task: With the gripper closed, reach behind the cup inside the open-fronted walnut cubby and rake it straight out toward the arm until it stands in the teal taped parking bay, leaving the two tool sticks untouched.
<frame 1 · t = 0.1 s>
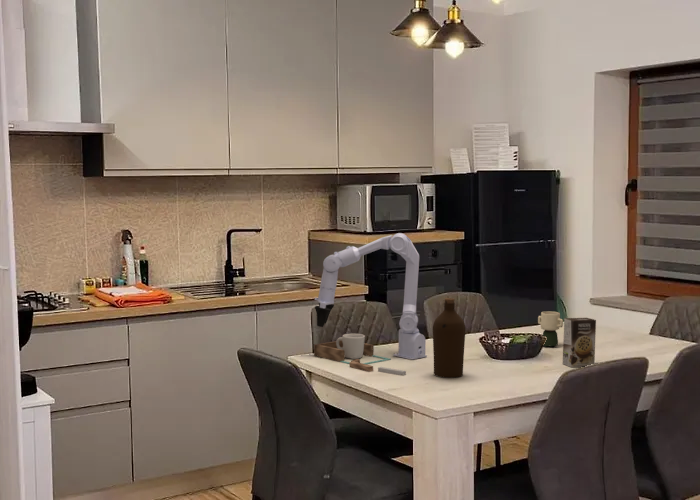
hand: (321, 324, 323), 11 cm above the table, tool pointing down, fingers open, 7 cm apart
cubby: (345, 356, 319), on the table
cookie box: (578, 365, 307), on the table
olive oil: (448, 375, 291), on the table
cup: (349, 357, 318), on the table
straight stick: (391, 374, 293), on the table
bay: (364, 360, 312), on the table
crook stick: (361, 368, 299), on the table, tilted 8°
beige and green trophy: (549, 347, 340), on the table
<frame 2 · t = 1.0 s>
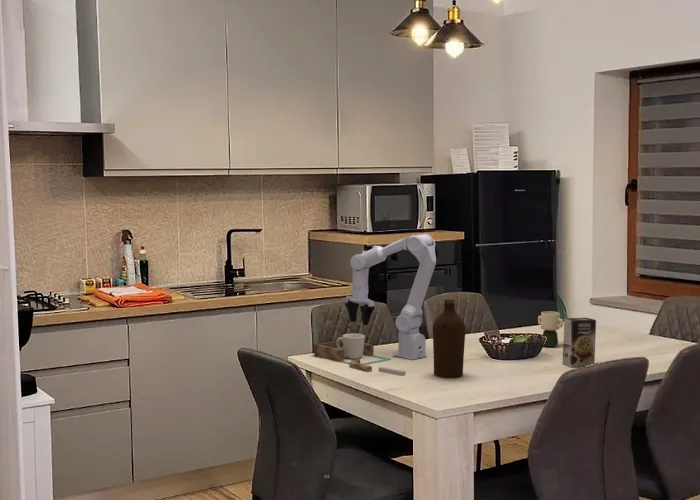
hand: (359, 323, 329), 10 cm above the table, tool pointing down, fingers open, 7 cm apart
crook stick: (360, 368, 298), on the table, tilted 8°, touching bay
everything else where it was.
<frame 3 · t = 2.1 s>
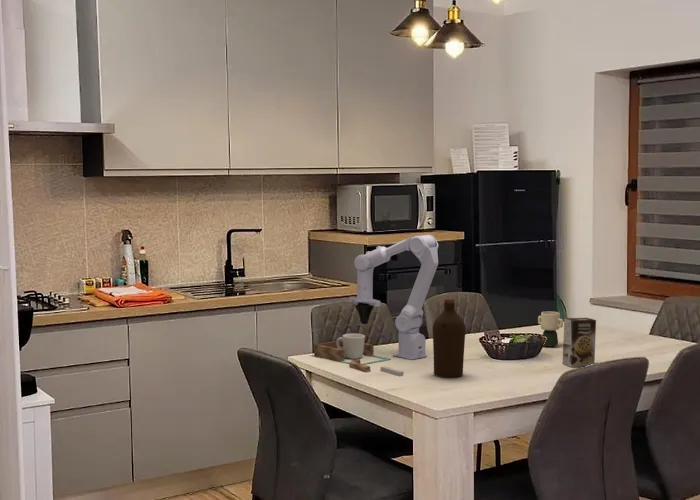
hand: (364, 323, 329), 10 cm above the table, tool pointing down, fingers closed
crook stick: (359, 369, 298), on the table, tilted 9°
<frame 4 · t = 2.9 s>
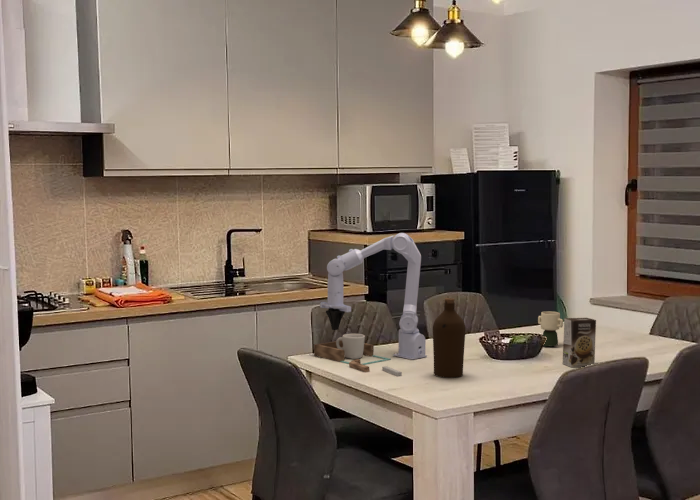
hand: (335, 329, 322), 9 cm above the table, tool pointing down, fingers closed
crook stick: (359, 369, 298), on the table, tilted 8°, touching bay
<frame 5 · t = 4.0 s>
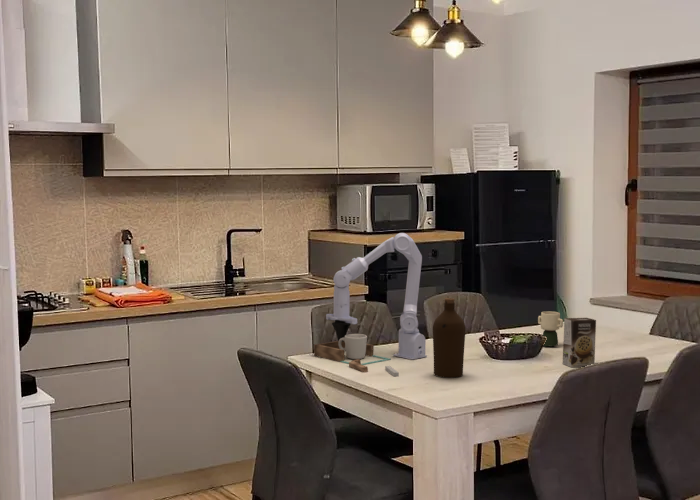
hand: (341, 341, 320), 5 cm above the table, tool pointing down, fingers closed
cup: (352, 358, 317), on the table, touching gripper
crook stick: (358, 369, 298), on the table, tilted 9°
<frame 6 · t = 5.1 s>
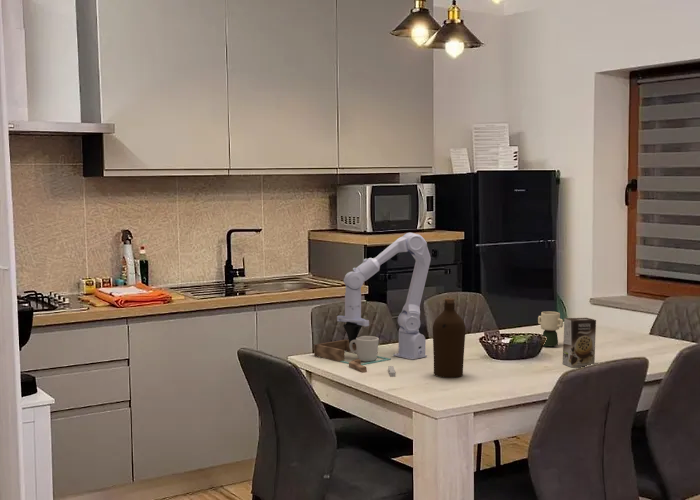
hand: (352, 343, 316), 5 cm above the table, tool pointing down, fingers closed
cup: (363, 360, 312), on the table, touching bay, gripper
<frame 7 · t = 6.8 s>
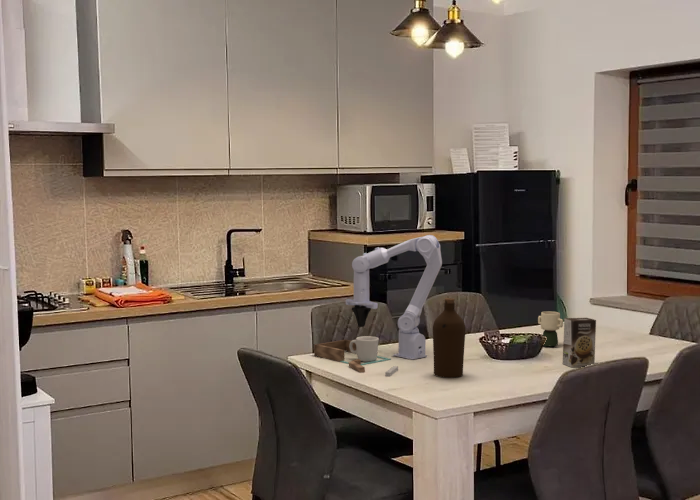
hand: (361, 326, 324), 10 cm above the table, tool pointing down, fingers closed
cup: (363, 360, 312), on the table
crook stick: (356, 369, 298), on the table, tilted 9°, touching bay
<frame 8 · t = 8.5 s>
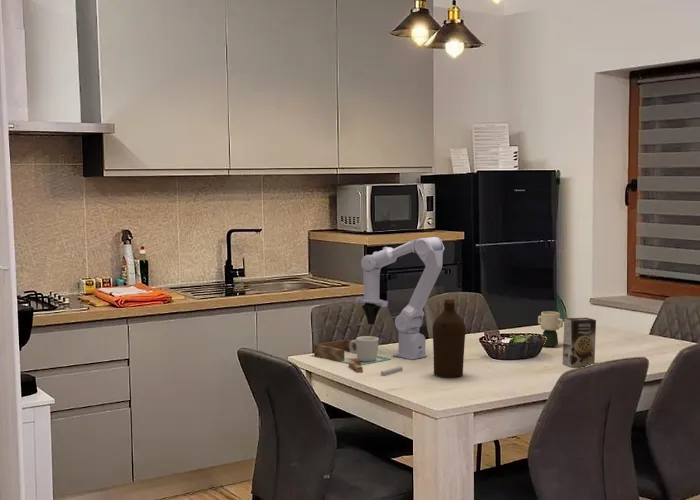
hand: (371, 324, 329), 10 cm above the table, tool pointing down, fingers closed
at the end: cup inside the target area (0.1 cm from its centre), on the table; cup tilted 0°; cup moved 6.9 cm from its start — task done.
